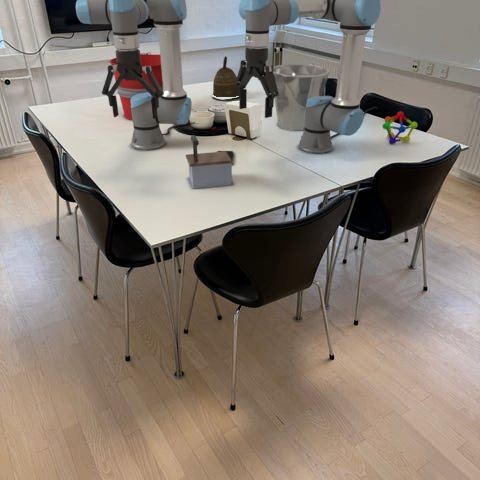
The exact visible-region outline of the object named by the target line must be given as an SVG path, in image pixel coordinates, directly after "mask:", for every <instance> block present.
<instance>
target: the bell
mask: <svg viewBox="0 0 480 480" xmlns="http://www.w3.org/2000/svg"><path fill="white" fill-rule="evenodd" d="M227 63H228V57H227V56H224V58H223V63H222V67H221V68H219V69H218V70H217V71H216V73H215V75H214V78H213V81H212V83H213V84H212V95H214V96H216V97H236V96H239V89H238V87H235V81H236V78H237V75H236V73H235V72H234V70H232V69H231V68H230V67H227Z"/></svg>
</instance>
